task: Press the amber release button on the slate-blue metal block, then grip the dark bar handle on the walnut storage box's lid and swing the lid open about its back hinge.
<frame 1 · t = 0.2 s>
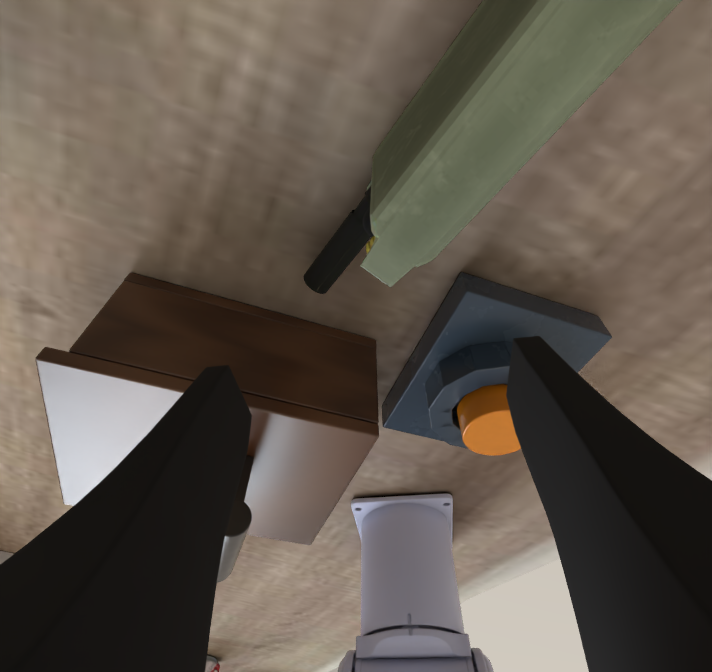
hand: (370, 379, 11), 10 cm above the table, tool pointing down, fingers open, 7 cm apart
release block: (479, 365, 25), on the table
soda can: (200, 657, 66), on the table
lid: (195, 504, 20), point 8 cm above the table, hinge at 0.0°
release button: (495, 420, 22), point 4 cm above the table, slide at 0.1 cm
compartment: (242, 379, 26), on the table
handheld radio: (516, 4, 14), on the table
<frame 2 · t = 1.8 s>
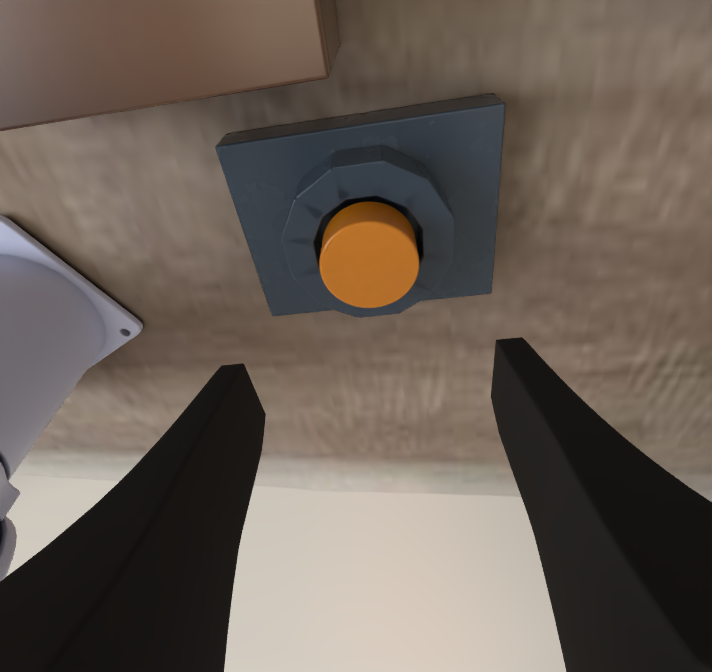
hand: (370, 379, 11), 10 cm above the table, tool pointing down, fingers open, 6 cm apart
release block: (368, 211, 19), on the table
release button: (369, 256, 16), point 4 cm above the table, slide at 0.1 cm
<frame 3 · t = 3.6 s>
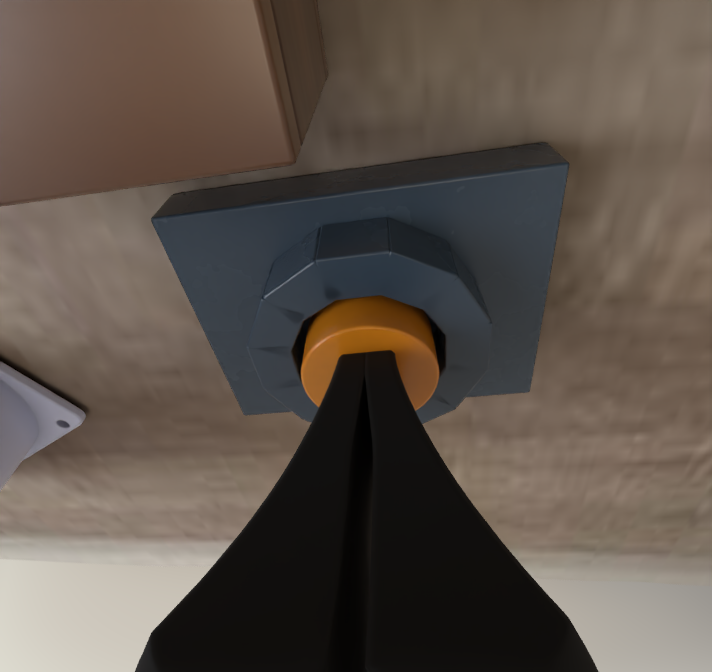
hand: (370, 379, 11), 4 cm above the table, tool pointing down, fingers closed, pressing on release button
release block: (368, 288, 14), on the table
release button: (369, 357, 12), point 3 cm above the table, slide at -0.5 cm, touching gripper
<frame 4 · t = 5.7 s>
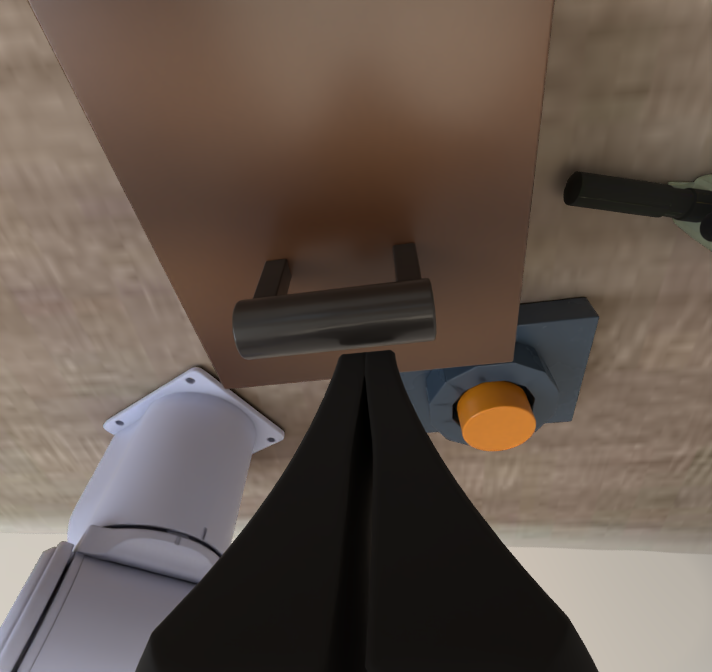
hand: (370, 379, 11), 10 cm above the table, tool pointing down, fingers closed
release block: (479, 362, 25), on the table
lid: (327, 236, 11), point 8 cm above the table, hinge at 0.0°
release button: (495, 416, 22), point 4 cm above the table, slide at 0.1 cm
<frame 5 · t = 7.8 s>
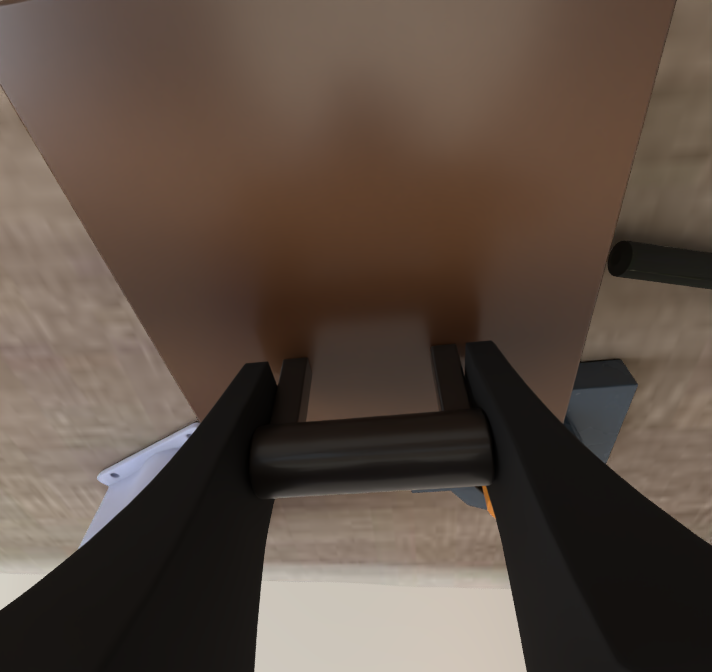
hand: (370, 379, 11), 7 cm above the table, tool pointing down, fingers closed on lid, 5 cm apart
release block: (501, 420, 23), on the table
lid: (360, 354, 9), point 8 cm above the table, hinge at 0.0°, touching gripper
release button: (522, 487, 20), point 4 cm above the table, slide at 0.1 cm
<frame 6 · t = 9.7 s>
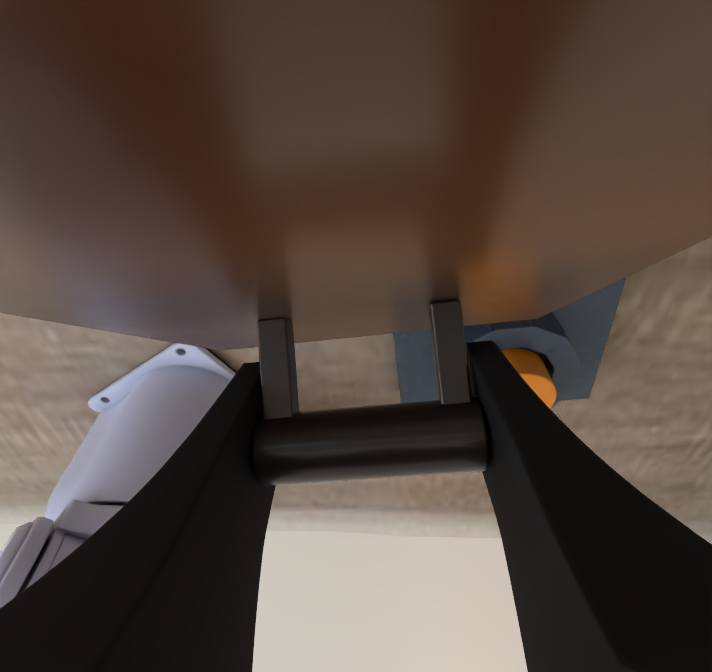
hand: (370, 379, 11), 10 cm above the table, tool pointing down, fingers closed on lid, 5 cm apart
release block: (491, 334, 23), on the table
lid: (355, 377, 8), point 12 cm above the table, hinge at 43.8°, touching gripper
release button: (510, 388, 20), point 4 cm above the table, slide at 0.1 cm
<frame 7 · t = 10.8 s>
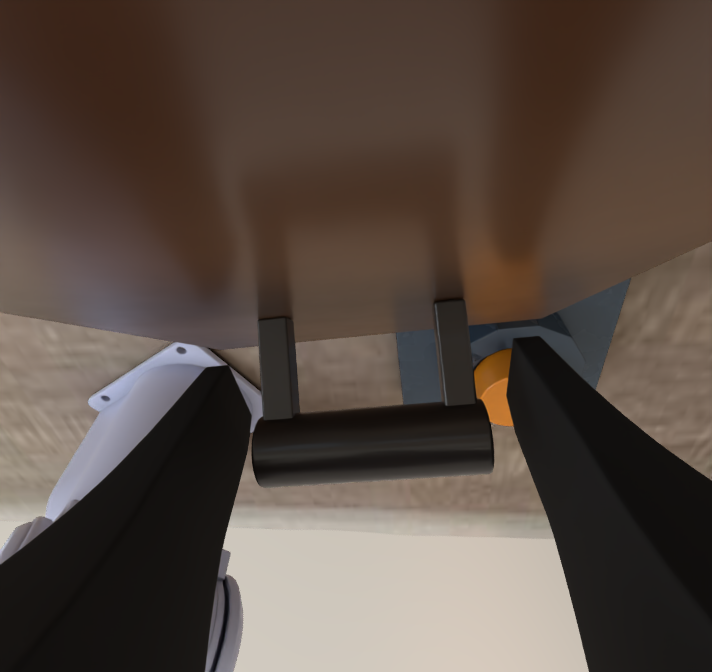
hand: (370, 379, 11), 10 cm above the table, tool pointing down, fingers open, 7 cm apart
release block: (494, 333, 23), on the table
lid: (357, 377, 8), point 12 cm above the table, hinge at 43.7°
release button: (514, 387, 20), point 4 cm above the table, slide at 0.1 cm
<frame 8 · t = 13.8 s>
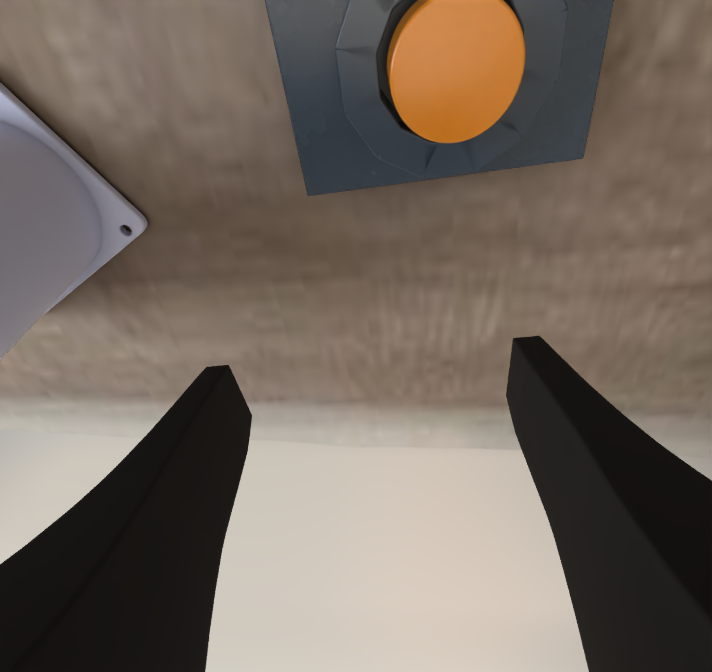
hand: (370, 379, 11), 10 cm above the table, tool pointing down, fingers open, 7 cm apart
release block: (433, 49, 15), on the table
release button: (451, 68, 12), point 4 cm above the table, slide at 0.1 cm
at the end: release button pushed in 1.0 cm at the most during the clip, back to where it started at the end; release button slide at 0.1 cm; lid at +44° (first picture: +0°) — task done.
